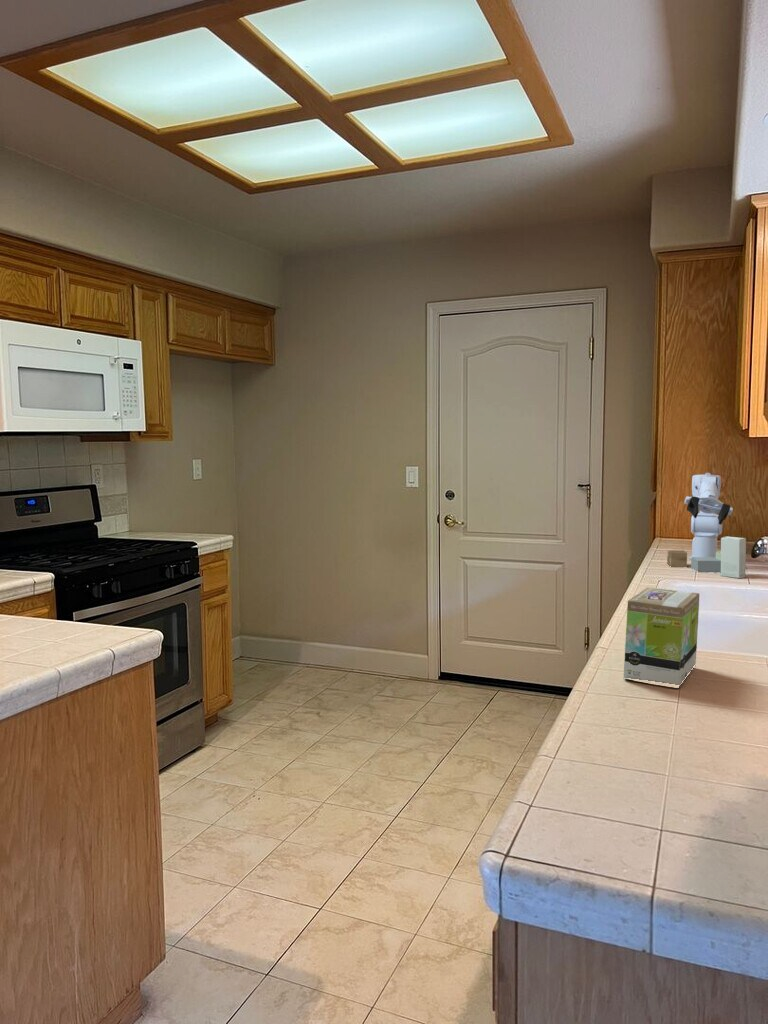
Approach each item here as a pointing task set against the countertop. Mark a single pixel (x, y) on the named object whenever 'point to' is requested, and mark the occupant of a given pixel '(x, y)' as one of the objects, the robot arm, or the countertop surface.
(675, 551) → the walnut cube
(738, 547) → the skincare box
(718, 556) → the sage cube
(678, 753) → the countertop surface
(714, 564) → the slate block
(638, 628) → the tea box
